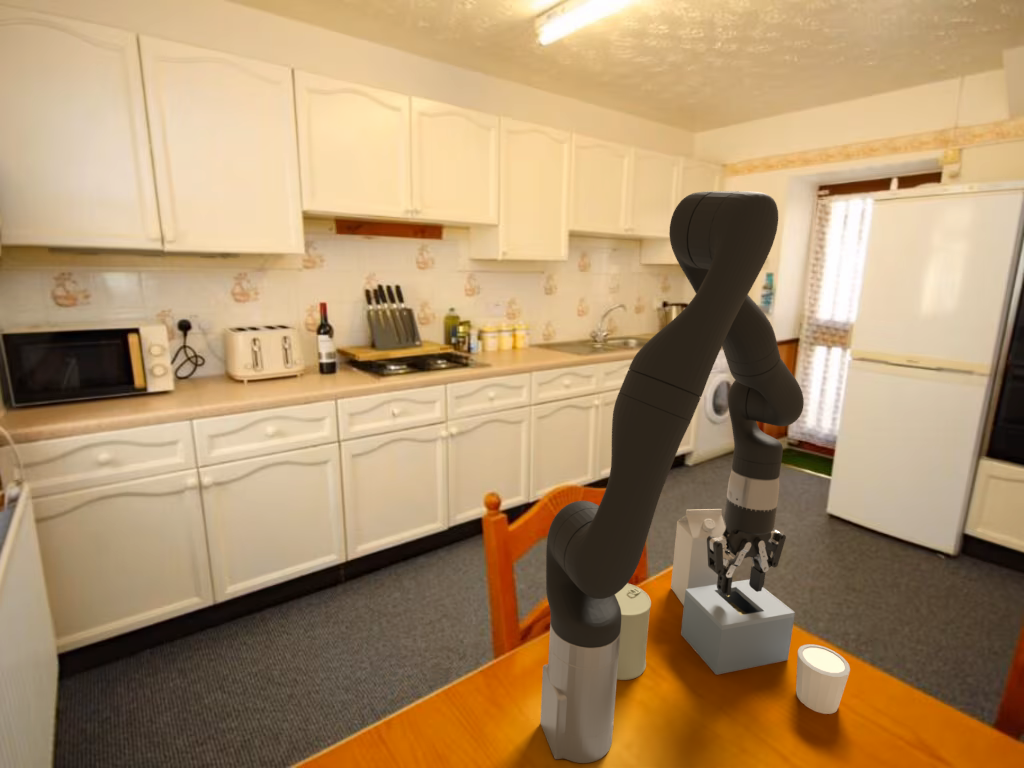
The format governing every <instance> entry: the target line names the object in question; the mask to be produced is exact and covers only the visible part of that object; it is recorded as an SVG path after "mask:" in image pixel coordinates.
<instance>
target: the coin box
mask: <svg viewBox="0 0 1024 768" xmlns="http://www.w3.org/2000/svg"><path fill="white" fill-rule="evenodd" d="M749 581H750V578H749V579H744V580H737V581H732V586H731V594H730V596H727V597H725V596H724V595H723V594H722V593H721V592H720V591H719V590H718V589H717V584H716V585H710V586H703V587H697V588H690V589H686V591H685V600H684V606H683V610H682V611H683V612H682V620H681V629H680V630H681V631H680V635H681V636H682V637H683V638H684V640H685V641H686V642H687V643H688V644H689V645H690V646H691V647H692V649H693V650H694V651H695V652H696V654H697V655H698V656H699V657H700V658H701V660H702V661H703V662H705V664H706V665H707V666H708V667H709V669H711V671H712V672H713V673H714V674H715V675H721V674H727V673H732V672H736V671H742V670H747V669H751V668H755V667H757V668H758V667H760V666H761V667H762V666H766V665H771V664H775V663H780V662H784V661H785V662H786V661H788V660H789V655H790V654H789V653H790V648H791V642H792V635H793V629H794V623H795V615H796V612H795V611H794V610H793V609H792V608H790V607H789V606H787V605H786V604H785V603H784V602H783V601H781V600H780V599H779V598H778V597H776V596H775V595H773V594H772V593H771V592H770V591H768V590H767V589H766V588H765V587H764V586H763V587H762V590H761V591H759V592H756V591H755V590H754V589H753V588H751V587H750V585H749ZM728 602H732V603H733V604H735V605H736V606H737V607H739V608H740V609H742V610H743V611H744V612H746V613H747V614H745V615H741V614H740V613H739V612H737V611H736V610H735V609H734V608H733V607H732V606H731V605H730V604H729V603H728Z"/></svg>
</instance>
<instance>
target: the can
mask: <svg viewBox="0 0 1024 768" xmlns="http://www.w3.org/2000/svg"><path fill="white" fill-rule="evenodd" d="M615 596H616V598H617V601H618V603H619V606H620V609H621V633H620V645H619V657H618V670H617V680H621V681H629V680H633V679H635V678H636V679H637V678H638V677H640V676H641V675H642V674H643V673H644V671H645V670H646V667H647V661H646V660H647V659H646V656H647V643H648V634H649V632H648V631H649V622H650V611H651V608H652V607H651V606H652V601H651V598H650V596H649V594H648V593H647V592H646V591H644V590H643V589H642V588H641V587H638V586H637V585H634V584H631V583H629V582H628V583H627V584H626V585H625V586H624V587H623V589H622V590H620V591H619V592H618V593H616V594H615Z"/></svg>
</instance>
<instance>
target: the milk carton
mask: <svg viewBox="0 0 1024 768" xmlns="http://www.w3.org/2000/svg"><path fill="white" fill-rule="evenodd" d="M722 513H723V508H712V509H711V508H707V509H706V508H705V509H704V508H702V509H701V508H699V509H686V511H685V515H684V516H682V517H681V518H679V519H678V520H677V521H676V532H675V541H674V552H673V562H672V571H671V574H672V575H671V584H670V589H671V590H672V591H673V593H674V595H676V597H677V598H678V600H679V601H680V603H681V604H682V606H683V607H684V600H685V591H686V589H690V588H697V587H703V586H710V585H716V584H717V580H718V574H716V573H715V572H714V571H713V570H712V569H711V568H709V567H708V554H707V538H708V537H709V536H713V537H714V538H717V537H720V536H722V535H723V533H724V531H725V529H726V523H725V520H724V517H723V515H722ZM724 546H725V545H724Z"/></svg>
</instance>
